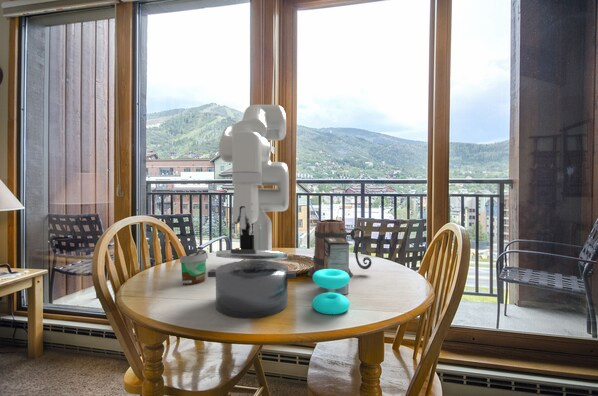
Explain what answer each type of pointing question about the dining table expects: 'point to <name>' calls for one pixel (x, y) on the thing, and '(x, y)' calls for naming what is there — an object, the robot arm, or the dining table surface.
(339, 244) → the coffee box
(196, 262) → the food container
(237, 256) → the pot lid
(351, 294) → the dining table surface
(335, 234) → the tankard
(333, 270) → the donuts
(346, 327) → the dining table surface
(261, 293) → the cooking pot
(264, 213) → the robot arm
